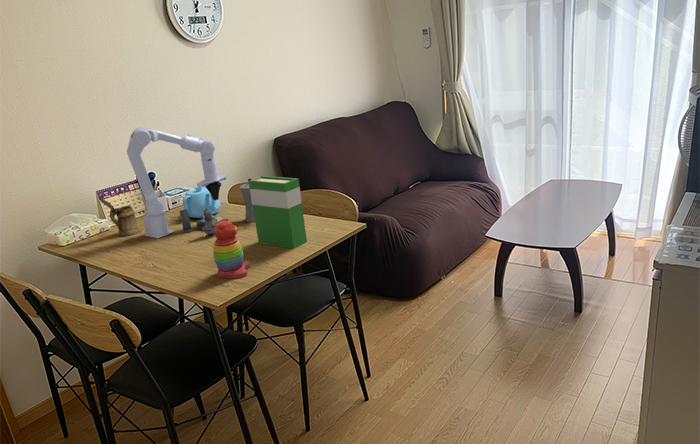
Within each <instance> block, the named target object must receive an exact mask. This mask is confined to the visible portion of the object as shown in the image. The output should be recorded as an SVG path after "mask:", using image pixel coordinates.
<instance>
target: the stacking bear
mask: <svg viewBox="0 0 700 444" xmlns="http://www.w3.org/2000/svg"><path fill="white" fill-rule="evenodd" d="M238 230H239V228H238V226H236V225H235V224H233V223H232V221H229V220H228V221H224V220H223V219H222V220H221V221H220V222H218V223H217V224H216V225H215V227H214V234H215V236H216V237H215V238H216V240H215V241H214V243H213V260H214V262H215V264H216V267H217V268H218V269H217V276H218V277H220V278H222V279H239V278H243V277H246V276H247V274H248V271H247V269H249V267H250V263H249V262H248V261H244V250H243V247H242V245H241V242H240V240H239V238H238V237H237V236H236V235H237V234H238Z"/></svg>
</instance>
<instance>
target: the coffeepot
mask: <svg viewBox="0 0 700 444" xmlns="http://www.w3.org/2000/svg"><path fill="white" fill-rule="evenodd" d="M250 180H252V178H248V179H247V181H248V183H244V184H242V185H240V186H239V189H240V191H241V196H242V198H243V201H244V204H245V221H246V223H255V218H254V212H253V206H252V200H251V193H250V187H249V181H250Z"/></svg>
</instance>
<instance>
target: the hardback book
mask: <svg viewBox="0 0 700 444" xmlns="http://www.w3.org/2000/svg"><path fill="white" fill-rule="evenodd" d="M248 183H249V187H250V193H251V200H252V206H253V212H254V218H255V222H254V223H255V229H256V235H257V241H258V244H265V245H271V246H277V247H282V248H286V249H287V248H288V249H293V250H295V249H296V248H298V247H300V246H302V245H303V244H306V243H307V242H308V241H307V233H306V232H307V231H306V224H305V218H304V210H303V203H302V201H303V200H302V195H301V188H300V187H301V186H300V180H299V178H296V177H295V178H294V177H283V176H270V175H269V176H268V175H262V176H260V179H256V180H253V179H251V180H250V181H249V182H248Z"/></svg>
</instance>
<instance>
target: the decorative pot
mask: <svg viewBox="0 0 700 444" xmlns="http://www.w3.org/2000/svg"><path fill="white" fill-rule="evenodd" d="M182 206H183V210H188V215H189V218H192V219H193V218H199V220H202V219H204V217H203V216H204V213H203V211H204V210H205V209H206V207H207V209H209V210H210V211H211V215H212V216H214V215H216V214H217V213H218V212H220V209H221V207H222V206H221V202H220V199H218V200H213V198H212V196H211V194H210V192H209V191H208V190H207V188H206V187H202V188H198V187H197V186H195V187H194V189H193V190H187V191H186V192H185V196H184V197H183V198H182Z"/></svg>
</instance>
